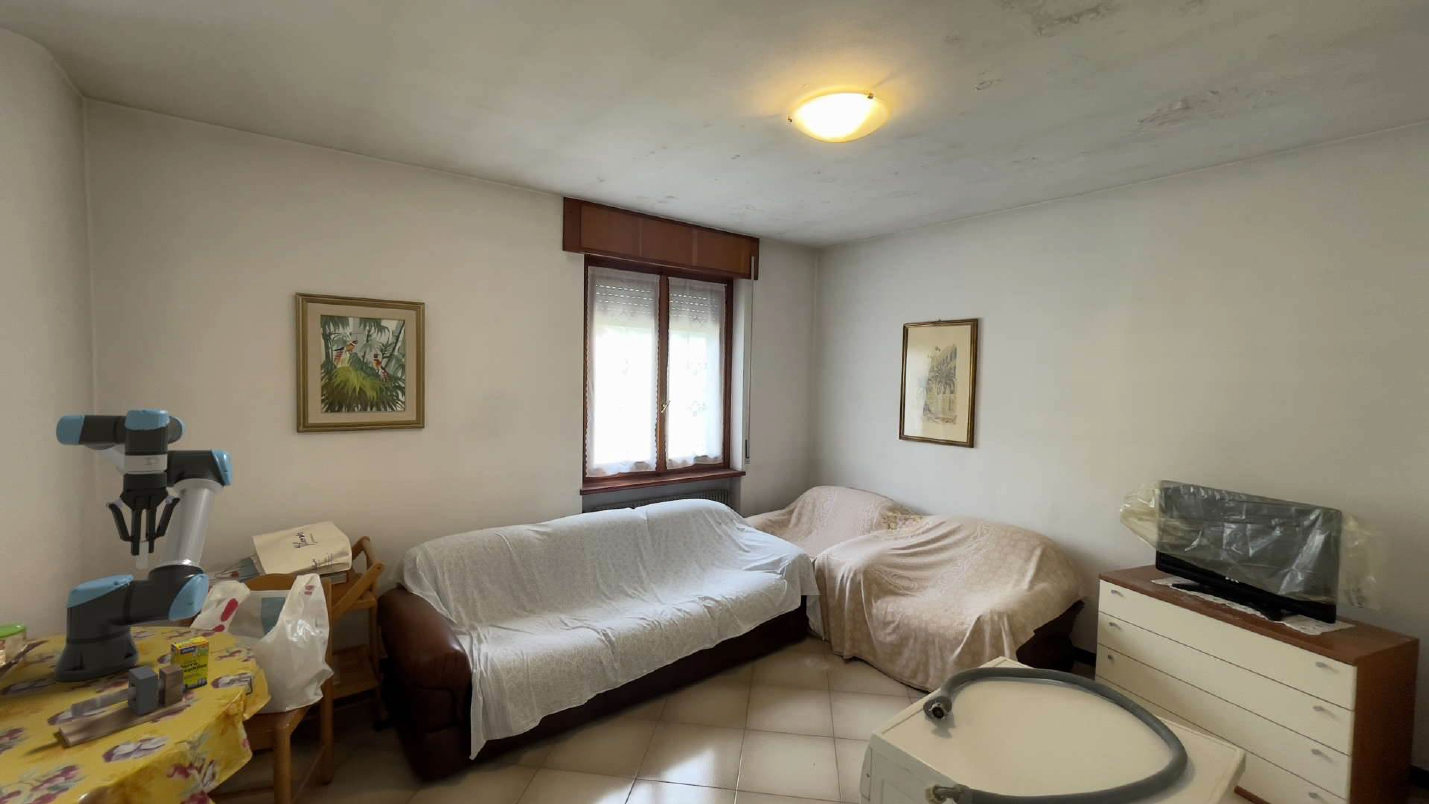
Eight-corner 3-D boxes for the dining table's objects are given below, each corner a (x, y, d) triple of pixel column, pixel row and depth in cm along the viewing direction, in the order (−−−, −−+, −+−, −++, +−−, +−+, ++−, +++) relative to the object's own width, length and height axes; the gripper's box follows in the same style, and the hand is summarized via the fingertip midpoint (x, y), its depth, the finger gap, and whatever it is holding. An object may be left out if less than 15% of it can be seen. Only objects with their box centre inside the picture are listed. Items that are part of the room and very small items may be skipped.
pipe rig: (70, 746, 116) (72, 705, 116) (58, 730, 121) (60, 691, 121) (185, 708, 131) (187, 672, 131) (171, 695, 136) (172, 660, 136)
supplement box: (176, 694, 137) (178, 649, 137) (168, 686, 140) (170, 643, 141) (208, 684, 142) (209, 641, 142) (199, 677, 146) (201, 635, 146)
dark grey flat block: (138, 715, 125) (139, 679, 125) (127, 704, 129) (129, 669, 129) (156, 709, 128) (158, 674, 128) (145, 699, 132) (147, 665, 132)
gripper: (111, 475, 131) (107, 577, 130) (186, 471, 142) (182, 564, 142) (102, 472, 135) (98, 571, 134) (175, 468, 146) (172, 559, 145)
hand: (141, 567), depth 138 cm, fingers closed
